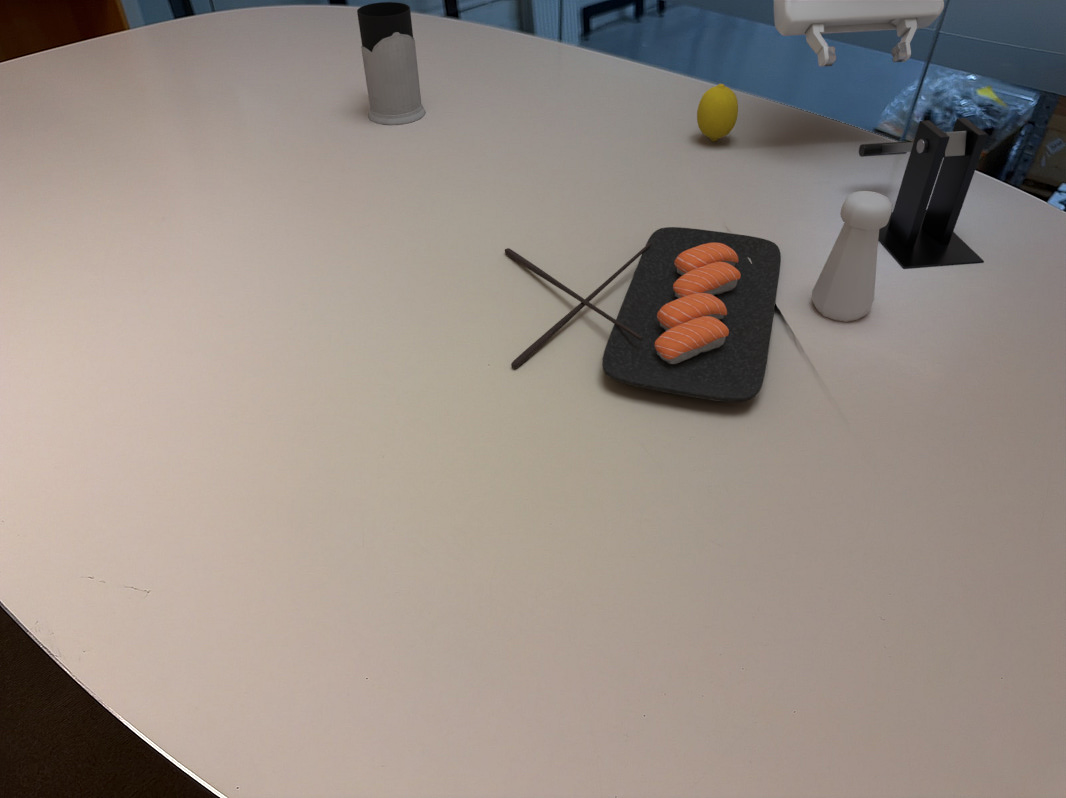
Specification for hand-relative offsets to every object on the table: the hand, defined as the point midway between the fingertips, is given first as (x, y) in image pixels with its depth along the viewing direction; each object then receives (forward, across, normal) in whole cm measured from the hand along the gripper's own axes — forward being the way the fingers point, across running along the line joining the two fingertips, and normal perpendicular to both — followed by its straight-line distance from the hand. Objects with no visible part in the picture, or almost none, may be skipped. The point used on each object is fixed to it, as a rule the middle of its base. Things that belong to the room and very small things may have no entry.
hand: (865, 62), depth 99 cm
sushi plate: (+30, +35, +10) cm, 47 cm away
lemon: (+2, +14, -17) cm, 22 cm away
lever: (+15, 0, +8) cm, 17 cm away
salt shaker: (+33, +14, +14) cm, 39 cm away
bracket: (+25, 0, +6) cm, 25 cm away
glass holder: (-12, +60, -31) cm, 69 cm away
